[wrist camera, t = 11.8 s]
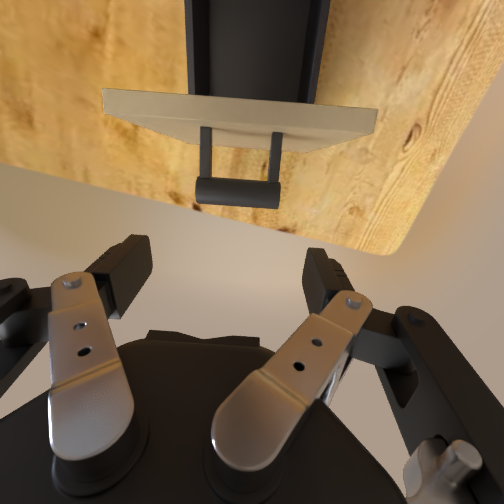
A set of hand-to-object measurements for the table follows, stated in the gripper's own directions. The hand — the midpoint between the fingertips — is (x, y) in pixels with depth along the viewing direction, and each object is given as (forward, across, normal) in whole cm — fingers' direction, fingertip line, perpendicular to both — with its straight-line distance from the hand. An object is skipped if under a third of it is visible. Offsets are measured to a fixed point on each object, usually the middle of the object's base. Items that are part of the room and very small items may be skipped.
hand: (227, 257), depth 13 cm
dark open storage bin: (+33, 0, -12) cm, 36 cm away
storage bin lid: (+13, 0, -6) cm, 15 cm away
